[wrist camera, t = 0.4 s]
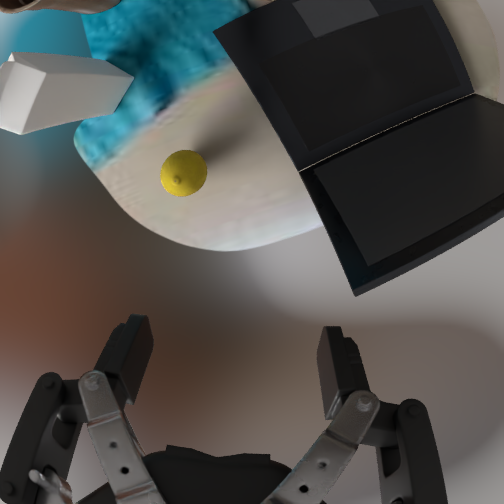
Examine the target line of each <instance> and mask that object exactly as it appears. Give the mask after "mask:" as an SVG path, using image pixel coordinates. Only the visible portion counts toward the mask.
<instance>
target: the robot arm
mask: <svg viewBox="0 0 504 504" xmlns="http://www.w3.org/2000/svg"><path fill="white" fill-rule="evenodd" d="M153 346H154V339H153V335H152V331H151V327H150V322H149V318H148V316H147V315H140V314H131V315H130V317H129V319H128V321H127V322H126V324H124V323H121V324H120V325H118V326H117V327H116V328H115V329H114V330H113V332H112V333H111V335H110V337H109V340H108V341H107V343H106V346H105V347H104V349H103V351H102V353H101V355H100V357H99V359H98V361H97V363H96V365H95V367H94V369H93V371H88V372H86V373H85V374H83V375H82V376H81V377H80V379H77V380H62V378H61V377H60V376H59V375H58V374H57V373H54V372H49V373H45V374H43V375H42V376H41V377H40V378H39V379H38V381H37V383H36V385H35V387H34V389H33V391H32V393H31V395H30V397H29V400H28V402H27V404H26V406H25V408H24V411H23V413H22V415H21V418H20V420H19V422H18V425H17V427H16V430H15V432H14V435H13V437H12V440H11V443H10V445H9V448H8V450H7V453H6V456H5V459H4V462H3V465H2V468H1V471H0V498H1V499H2V501H3V502H5V503H7V504H73V502H72V490H71V487H70V485H69V484H68V482H67V481H66V480H67V476H68V472H69V468H70V465H71V461H72V458H73V454H74V450H75V447H76V444H77V441H78V437H79V434H80V431H81V428H82V425H83V423H88V424H87V428H88V431H89V434H90V437H91V439H92V442H93V445H94V448H95V450H96V453H97V455H98V458H99V460H100V463H101V465H102V468H103V470H104V472H105V475H106V477H107V479H108V482H107V483H106V484H104V485H103V486H101V487H100V488H98V489H97V490H95V491H94V492H92V493H91V494H89V495H87V496H86V497H84V498H83V499H81V500H80V501H78V502H76V503H75V504H326V503H325V502H324V501H323V498H324V497H325V496H326V494H327V493H328V492H329V490H330V489H331V487H332V486H333V484H334V483H335V482H336V481H337V479H338V478H339V476H340V475H341V473H342V472H343V471H344V469H345V468H346V466H347V465H348V463H349V461H350V460H351V458H352V457H353V455H354V454H355V452H356V450H357V449H358V446H359V444H365V445H370V446H375V447H376V454H377V463H378V471H379V480H380V489H381V501H382V504H448V500H447V495H446V489H445V483H444V478H443V473H442V468H441V464H440V459H439V455H438V450H437V446H436V442H435V438H434V434H433V431H432V426H431V423H430V419H429V416H428V412H427V409H426V407H425V405H424V404H423V403H422V402H420V401H418V400H416V399H406V400H404V401H403V402H401V404H400V405H397V404H392V403H386V402H383V401H380V400H379V399H378V397H377V396H376V395H375V394H373V393H372V392H371V391H370V388H369V384H368V381H367V378H366V374H365V370H364V367H363V364H362V360H361V357H360V353H359V349H358V346H357V344H356V343H355V342H354V341H353V340H352V338H350V337H347V338H344V337H343V333H342V329H341V327H340V326H324V327H323V330H322V334H321V338H320V341H319V345H318V349H317V365H318V372H319V378H320V385H321V392H322V399H323V406H324V413H325V420H330V419H331V420H332V419H333V421H332V422H331V423H330V425H329V426H328V428H327V429H326V430H324V431H323V433H322V434H321V435H320V436H319V438H318V439H317V440H316V442H315V443H314V444H313V445H312V447H311V448H310V449H309V451H308V452H307V453H306V454H305V455H304V457H303V458H302V459H301V460H300V462H299V463H298V464H297V465H296V466H295V467H294V469H293V470H292V469H291V468H289V467H287V466H286V465H284V464H281V463H279V462H276V461H273V460H270V454H247V453H243V454H237V455H231V456H223V457H214V456H211V455H208V454H205V453H203V452H200V451H197V450H194V449H192V448H184V447H177V446H171V445H167V447H166V451H158V452H154V453H151V454H148V455H146V454H145V452H144V450H143V448H142V447H141V445H140V443H139V441H138V439H137V437H136V435H135V433H134V431H133V429H132V427H131V425H130V423H129V421H128V418H127V416H126V414H125V411H124V407H125V404H126V403H127V404H132V405H134V403H135V399H136V397H137V394H138V391H139V388H140V385H141V382H142V379H143V376H144V373H145V371H146V367H147V365H148V362H149V359H150V357H151V353H152V351H153Z"/></svg>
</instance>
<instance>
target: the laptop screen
mask: <svg viewBox="0 0 504 504" xmlns="http://www.w3.org/2000/svg"><path fill="white" fill-rule="evenodd" d="M299 175H300V177H301V179H302V181H303V183H304V185H305V187H306V189H307V191H308V193H309V195H310V197H311V199H312V201H313V203H314V205H315V207H316V210H317V212H318V214H319V216H320V218H321V220H322V222H323V225H324V227H325V229H326V231H327V233H328V236H329V238H330V240H331V242H332V244H333V246H334V249H335V251H336V254H337V256H338V258H339V260H340V263H341V265H342V267H343V270H344V272H345V275H346V277H347V279H348V282H349V284H350V287H351V289H352V291H353V294H354V296H355V297H356V296H358V295H361V294H363V293H365V292H367V291H369V290H371V289H373V288H376V287H378V286H380V285H382V284H384V283H386V282H388V281H390V280H392V279H394V278H396V277H398V276H400V275H402V274H404V273H406V272H408V271H409V270H412V269H414V268H416V267H418V266H419V265H421V264H423V263H425V262H427V261H429V260H431V259H433V258H434V257H436V256H438V255H440V254H442V253H444V252H445V251H447V250H449V249H451V248H452V247H454V246H456V245H458V244H460V243H461V242H463V241H465V240H466V239H468V238H470V237H471V236H473V235H475V234H477V233H478V232H480V231H482V230H483V229H485V228H486V227H488V226H490V225H491V224H493V223H495V222H496V221H498V220H499V219H501V218H503V217H504V104H501V103H499V102H496V101H494V100H491V99H489V98H486V97H483V96H481V95H478V94H472V95H469V96H467V97H464V98H462V99H459V100H457V101H454V102H452V103H449V104H447V105H444V106H442V107H440V108H437V109H435V110H432V111H430V112H428V113H425V114H423V115H421V116H418V117H416V118H414V119H411V120H409V121H407V122H404V123H402V124H400V125H398V126H395V127H393V128H391V129H389V130H386V131H384V132H382V133H380V134H378V135H375V136H373V137H371V138H369V139H367V140H365V141H362V142H360V143H358V144H356V145H354V146H352V147H350V148H348V149H346V150H343V151H341V152H339V153H337V154H335V155H333V156H331V157H329V158H327V159H325V160H323V161H321V162H319V163H317V164H315V165H313V166H311V167H309V168H307V169H305V170H303V171H301V172H299Z"/></svg>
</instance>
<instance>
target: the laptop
mask: <svg viewBox="0 0 504 504" xmlns="http://www.w3.org/2000/svg"><path fill="white" fill-rule="evenodd" d="M213 33H214V35H215V36H216V37H217V39H218V40H219V42H220V43H221V45H222V46H223V48H224V49H225V51H226V52H227V54H228V55H229V57H230V58H231V60H232V61H233V63H234V64H235V66H236V67H237V69H238V70H239V72H240V74H241V75H242V77H243V78H244V80H245V81H246V83H247V85H248V86H249V88H250V89H251V91H252V93H253V94H254V96H255V98H256V99H257V101H258V102H259V104H260V106H261V107H262V109H263V111H264V112H265V114H266V116H267V118H268V119H269V121H270V123H271V124H272V126H273V128H274V130H275V131H276V133H277V135H278V137H279V138H280V140H281V142H282V144H283V145H284V147H285V149H286V151H287V153H288V154H289V156H290V158H291V160H292V162H293V163H294V165H295V167H296V169H297V171H300V170H302V169H304V168H306V167H308V166H310V165H312V164H314V163H316V162H318V161H320V160H322V159H324V158H326V157H328V156H330V155H332V154H335V153H337V152H339V151H341V150H343V149H345V148H347V147H349V146H351V145H353V144H356V143H358V142H360V141H362V140H364V139H366V138H368V137H371V136H373V135H375V134H377V133H379V132H382V131H384V130H386V129H388V128H390V127H393V126H395V125H397V124H399V123H402V122H404V121H406V120H409V119H411V118H413V117H415V116H418V115H420V114H423V113H425V112H427V111H430V110H432V109H434V108H437V107H439V106H442V105H444V104H447V103H449V102H451V101H454V100H456V99H459V98H462V97H464V96H467V95H469V94H472V93H474V90H473V87H472V84H471V81H470V78H469V76H468V73H467V71H466V68H465V66H464V63H463V61H462V58H461V56H460V54H459V51H458V49H457V47H456V45H455V43H454V40H453V38H452V36H451V34H450V32H449V30H448V28H447V26H446V24H445V22H444V20H443V19H442V17H441V15H440V13H439V11H438V9H437V8H436V6H435V4H434V2H433V1H432V0H276V1H274V2H272V3H269V4H267V5H265V6H262V7H260V8H258V9H256V10H254V11H251V12H249V13H247V14H245V15H243V16H241V17H239V18H237V19H235V20H233V21H231V22H229V23H227V24H225V25H223V26H222V27H220V28H218V29H216V30H214V31H213Z"/></svg>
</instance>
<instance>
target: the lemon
mask: <svg viewBox="0 0 504 504" xmlns="http://www.w3.org/2000/svg"><path fill="white" fill-rule="evenodd" d="M160 177H161V182H162V184H163V187H164V188H165V189H166V190H167V191H168V192H169V193H171V194H173V195H175V196H188V195H191V194H193V193H195V192H197V191H198V190H199V189H200V188H201V187H202V186H203V184H204V182H205V180H206V177H207V166H206V163H205V161H204V159H203V158H202V157H201V156H200V155H199V154H198V153H196V152H194V151H191V150H181V151H177V152H175V153H173V154H171V155H170V156H169V157H168V158H167V159H166V161H165V162H164V164H163V166H162V169H161V175H160Z"/></svg>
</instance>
